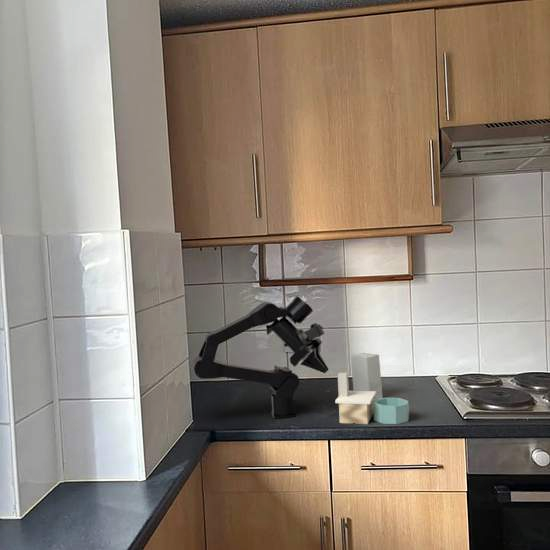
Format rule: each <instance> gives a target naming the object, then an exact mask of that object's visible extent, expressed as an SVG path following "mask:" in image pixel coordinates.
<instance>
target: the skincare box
mask: <svg viewBox="0 0 550 550" xmlns="http://www.w3.org/2000/svg"><path fill="white" fill-rule="evenodd" d="M350 362H351V363H350V364H351V377H352V378H351V379H352V388H353V389H352V391H376V395H375V397H374V399H373V402H374V401H375V400H376V399H381V398H384V397H383V388H382V386H383V385H382V376H381V364H380V363H381V362H380V354H377V353H366V352H360V353H355V354H351V355H350Z"/></svg>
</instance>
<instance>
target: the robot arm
mask: <svg viewBox="0 0 550 550" xmlns="http://www.w3.org/2000/svg"><path fill="white" fill-rule="evenodd" d="M313 312H314V310H313V309H312V307H311V306H310V305H309V303H306V302H305V301H304V300H303V299H302V298H300V297H299V296H298V295H297V296H295V297H294V298H293V299H292V301H291V302H290V303H289V304H288V305H287V306H286V307H284V306H283V307H282V306H280V307H279V306H277V305H276V304H274V303H272V302H268V301H264V302H262V303H260V304H259V305H257V306H256V307H254V308H253V309H252V310H251V311H250V312H249V313H247V314H246V315H244V316H242V317H240V318H238V319H237V320H234V321H233V322H230V323H229V324H226V325H224V326H222V327H220V328H218V329H217V330H214V331H212V332H209V333H207V334H206V336H205V338H204V341H203V344H202V346H201V347H200V350H199V352H198V356H197V357H195V358H194V359H193V361H192V364H191V365H192V370H193V372H194V374H195V375H196V376H197V378H200V379H203V380H204V379H210V380H211V379H214V380H215V379H221V378H227V379H232V380H233V379H234V380H239V381H245V382H251V383H252V382H253V383H259V384H265V385H269V389H270V392H271V412H270V413H271V415H272V417H273V418H274V419H281V418H283V419H284V418H293V417H296V413H297V411H296V399H295V398H294V395H295V392H296V390H297V389H298V388H299V386H300V378H299V376H298V375H297V374H296V373H294V372H293V370H291V368H289V367H287V366H284V367H283V366H282V367H281V366H278V365H276V364H275V365H274V367H273V368H274V369H270V370H269V369H267V370H266V369H260V368H255V367H254V368H253V367H249V366H248V367H247V366H243V365H236V364H231V363H230V364H229V363H223V362H222V361H219V360H216V359H215V358H216V355H217V350H218V346H219V345H220V344H222V343H224V342H227V341H229V340H230V339H232V338H235V337H236V336H238V335H241V334H242V333H244V332H247V331H248V330H250V329H253V328H255V327H260V326H264V325H265V328H266V335H267V336H270V334H271V333H272V332H273V333H274V334H275V335H276V336H277V337H278V338H279V339H280V340H281V341H282V342H283V343H284V344H283V346H284V347H285V348H289V349H290V350H291V351H292V352H293V354H292V355H291V356H290V357H289V364H291V365H292V366H293V367H297V366H298V365H299V364H300V365H301V366H304V367H306V368H310V369H313V370H315V371H317V372H321V373H323V374H326V373H327V372H328V371H329V368H328V365H327V364H326V362H325V361H324V359H323V357H322V355H321V353H320V351H321V350H320V349H321V345H322V343H323V341H322V340H321V339H320V338H319V337H321V336H323V335H324V334H325V331H324V330H323V329H324V328H323V326H322V325H321V324H318V323H317V322H314V323H312V324H311V325H309V326H310V327H309V329H307V330H305V331H304V330H303V329H298V328H297V327H296V326H295V325H296V324H300V325H301V324H302V323H303V322H304V321H305V320H306V319H307V318H308V317H309V316H310V315H311V314H312V313H313ZM279 318H280V319H279ZM294 324H295V325H294ZM301 361H302V362H301ZM300 362H301V363H300Z"/></svg>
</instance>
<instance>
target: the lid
mask: <svg viewBox="0 0 550 550" xmlns="http://www.w3.org/2000/svg"><path fill="white" fill-rule="evenodd" d="M337 390H338V395H337V396H338V397H337V398H336V399H335V401H334V402H335V404H339V403H346V404H371V402H372V401H373V399H374V397H375V395H376V391H354V390H350V387H349V373H348V372H338V374H337ZM373 402H374V401H373Z"/></svg>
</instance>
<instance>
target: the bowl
mask: <svg viewBox="0 0 550 550" xmlns="http://www.w3.org/2000/svg"><path fill="white" fill-rule="evenodd" d="M409 407H410V405H409V400H407V399H404V398H401V397H383V398H381V399H376V400H375V401H373V409H374V413H373V421H374V422H378V423H380V424H384V425H388V424H389V425H400V424H402V423H403V424H405V423H407V422H409V419H410V409H409Z"/></svg>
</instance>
